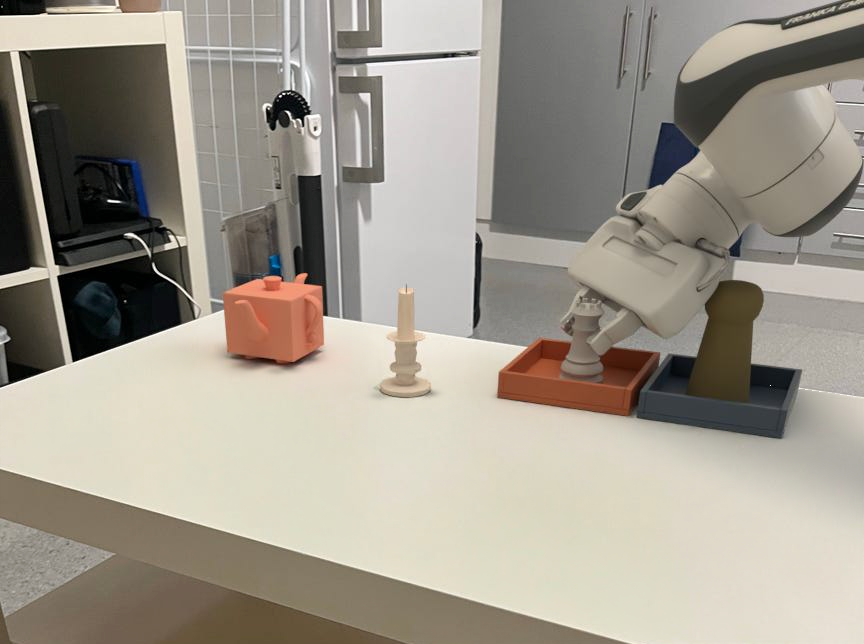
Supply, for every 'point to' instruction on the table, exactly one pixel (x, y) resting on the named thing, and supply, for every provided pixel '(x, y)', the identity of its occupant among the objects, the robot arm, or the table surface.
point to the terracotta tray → (540, 382)
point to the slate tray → (757, 417)
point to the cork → (727, 343)
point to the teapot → (274, 319)
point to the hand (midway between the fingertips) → (578, 340)
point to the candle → (405, 352)
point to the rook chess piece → (583, 344)
